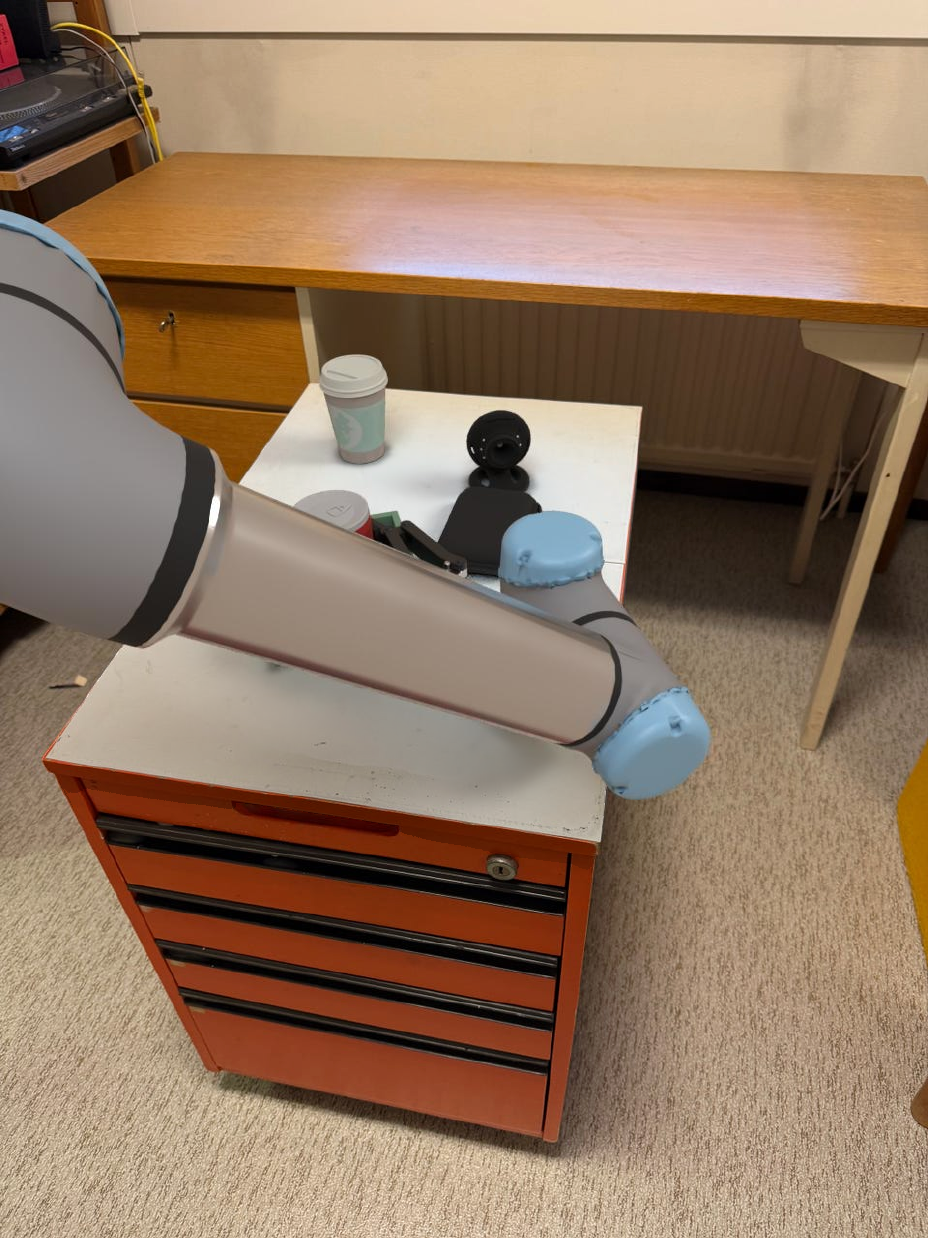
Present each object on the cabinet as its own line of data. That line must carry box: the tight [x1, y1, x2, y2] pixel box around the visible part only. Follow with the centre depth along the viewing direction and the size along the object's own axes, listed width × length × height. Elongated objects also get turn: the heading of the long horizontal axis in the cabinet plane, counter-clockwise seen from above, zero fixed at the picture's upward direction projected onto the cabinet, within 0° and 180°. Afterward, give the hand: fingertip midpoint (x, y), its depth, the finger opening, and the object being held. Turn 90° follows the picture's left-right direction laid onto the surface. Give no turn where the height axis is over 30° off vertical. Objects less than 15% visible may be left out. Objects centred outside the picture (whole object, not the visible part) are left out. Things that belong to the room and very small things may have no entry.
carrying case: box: [436, 486, 543, 576], centre depth 99 cm, size 11×3×15 cm
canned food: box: [292, 489, 374, 540], centre depth 89 cm, size 8×8×11 cm
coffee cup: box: [318, 354, 389, 465], centre depth 112 cm, size 8×8×12 cm
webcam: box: [465, 409, 532, 492], centre depth 106 cm, size 8×8×10 cm
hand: (306, 534), depth 91 cm, fingers closed on canned food, 8 cm apart
